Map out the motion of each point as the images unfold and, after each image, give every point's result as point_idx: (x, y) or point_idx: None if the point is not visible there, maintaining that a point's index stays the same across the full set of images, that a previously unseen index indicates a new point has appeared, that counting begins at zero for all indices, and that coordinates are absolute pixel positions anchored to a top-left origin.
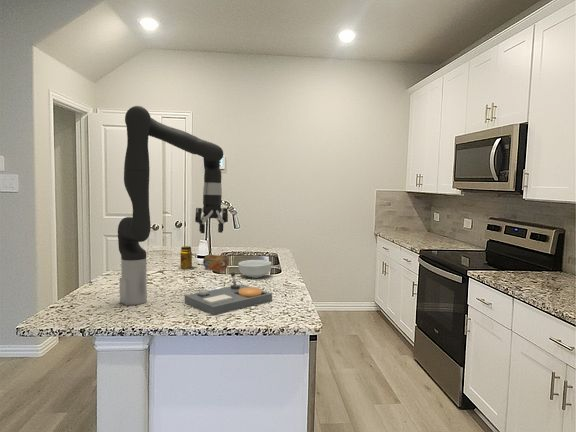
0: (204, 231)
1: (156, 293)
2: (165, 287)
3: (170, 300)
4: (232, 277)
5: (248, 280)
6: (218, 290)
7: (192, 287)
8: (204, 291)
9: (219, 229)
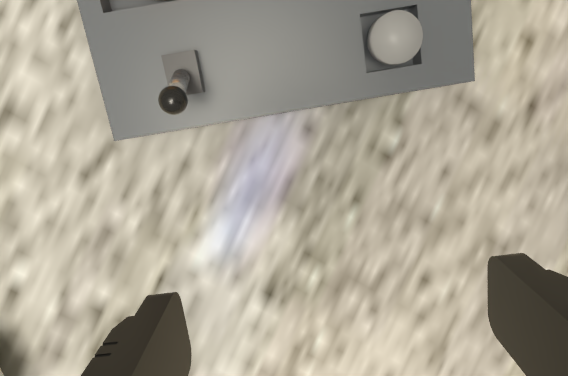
0: (506, 263)
1: None
2: (414, 367)
3: (490, 155)
4: (184, 90)
5: (9, 308)
6: (284, 82)
7: (312, 313)
8: (398, 21)
9: (173, 358)
